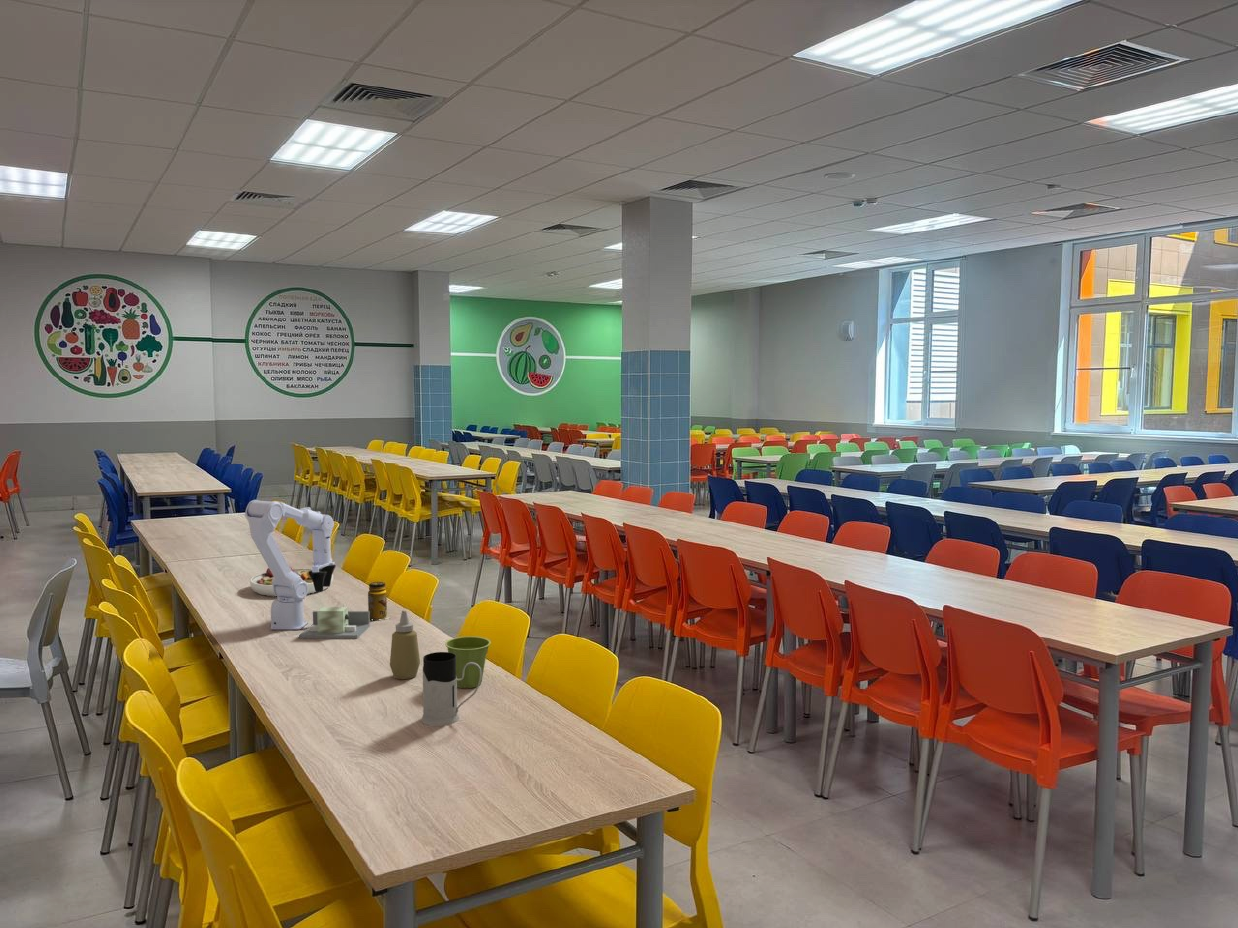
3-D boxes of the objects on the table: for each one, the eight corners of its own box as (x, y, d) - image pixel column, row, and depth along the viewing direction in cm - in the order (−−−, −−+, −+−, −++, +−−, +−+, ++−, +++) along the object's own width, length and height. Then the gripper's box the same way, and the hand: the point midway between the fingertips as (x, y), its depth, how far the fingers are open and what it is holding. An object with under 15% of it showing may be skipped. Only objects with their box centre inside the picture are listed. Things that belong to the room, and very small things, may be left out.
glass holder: (426, 711, 207) (425, 650, 206) (485, 712, 207) (484, 651, 206) (416, 725, 199) (416, 662, 197) (478, 726, 198) (477, 663, 197)
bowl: (350, 587, 337) (349, 567, 336) (283, 602, 312) (283, 581, 311) (300, 577, 353) (299, 558, 352) (233, 592, 328) (233, 571, 327)
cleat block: (317, 632, 269) (317, 610, 269) (323, 628, 274) (322, 606, 274) (346, 632, 269) (345, 611, 269) (351, 628, 274) (350, 606, 274)
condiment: (390, 618, 290) (390, 583, 289) (365, 622, 285) (365, 586, 284) (383, 614, 296) (383, 579, 295) (359, 617, 292) (358, 582, 290)
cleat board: (299, 638, 267) (298, 622, 266) (314, 625, 281) (314, 610, 280) (357, 638, 267) (357, 622, 267) (369, 626, 281) (369, 611, 280)
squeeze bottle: (426, 673, 235) (425, 608, 233) (409, 682, 227) (408, 616, 226) (400, 670, 238) (399, 606, 236) (383, 679, 230) (382, 613, 228)
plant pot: (476, 694, 219) (476, 651, 218) (436, 688, 223) (436, 646, 222) (499, 679, 230) (498, 638, 229) (460, 674, 234) (459, 634, 233)
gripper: (326, 553, 283) (327, 594, 285) (340, 545, 298) (341, 584, 299) (305, 553, 283) (306, 594, 285) (319, 545, 298) (320, 584, 299)
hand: (322, 589), depth 292 cm, fingers open, 7 cm apart
